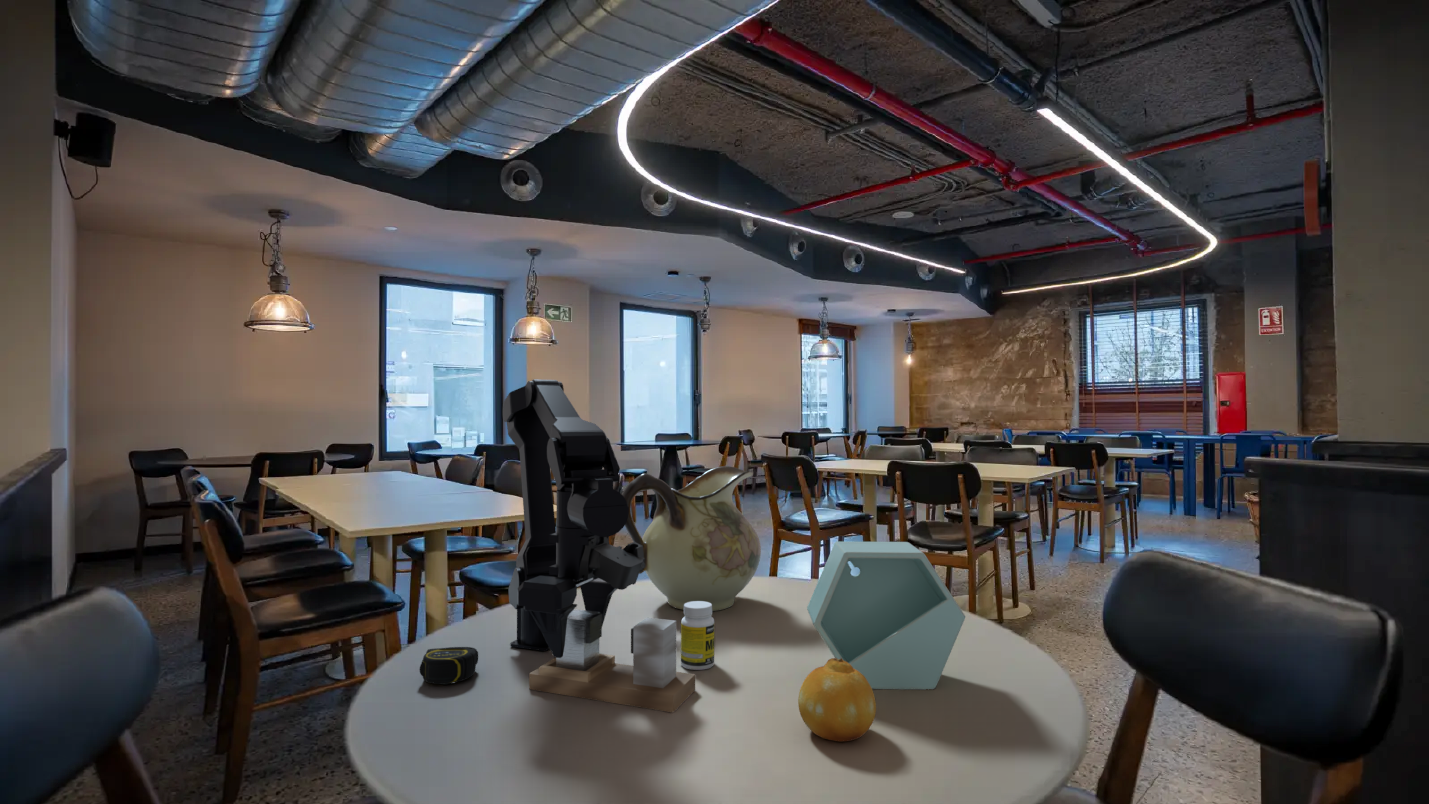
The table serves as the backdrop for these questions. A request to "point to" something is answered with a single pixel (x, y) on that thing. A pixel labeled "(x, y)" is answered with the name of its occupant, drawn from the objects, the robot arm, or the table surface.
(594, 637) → the grey rectangular block
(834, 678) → the fruit
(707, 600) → the pitcher
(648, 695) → the wooden tray stand
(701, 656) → the supplement bottle
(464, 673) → the tape measure
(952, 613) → the planter
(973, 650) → the table surface
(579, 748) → the table surface
